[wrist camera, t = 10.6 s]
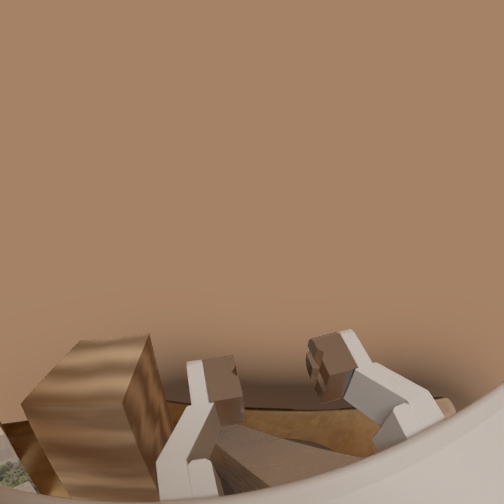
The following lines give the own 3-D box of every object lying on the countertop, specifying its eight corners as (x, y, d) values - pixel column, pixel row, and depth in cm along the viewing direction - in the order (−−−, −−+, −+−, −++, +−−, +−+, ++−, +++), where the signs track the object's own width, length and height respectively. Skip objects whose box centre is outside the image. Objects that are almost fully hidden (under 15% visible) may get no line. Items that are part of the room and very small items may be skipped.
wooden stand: (203, 569, 21) (121, 403, 18) (130, 569, 19) (20, 403, 17) (195, 488, 36) (149, 333, 34) (138, 491, 35) (80, 340, 33)
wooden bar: (388, 526, 7) (375, 459, 8) (310, 567, 6) (289, 499, 7) (229, 444, 28) (222, 418, 29) (201, 450, 27) (194, 424, 28)
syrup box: (32, 484, 31) (-6, 416, 30) (47, 501, 28) (4, 431, 27) (9, 495, 26) (-33, 427, 25) (22, 514, 23) (-26, 443, 22)
